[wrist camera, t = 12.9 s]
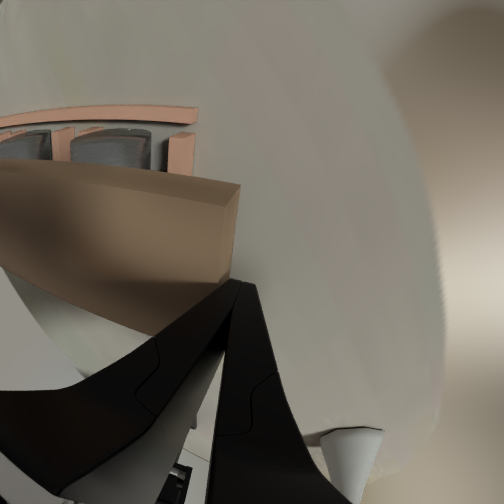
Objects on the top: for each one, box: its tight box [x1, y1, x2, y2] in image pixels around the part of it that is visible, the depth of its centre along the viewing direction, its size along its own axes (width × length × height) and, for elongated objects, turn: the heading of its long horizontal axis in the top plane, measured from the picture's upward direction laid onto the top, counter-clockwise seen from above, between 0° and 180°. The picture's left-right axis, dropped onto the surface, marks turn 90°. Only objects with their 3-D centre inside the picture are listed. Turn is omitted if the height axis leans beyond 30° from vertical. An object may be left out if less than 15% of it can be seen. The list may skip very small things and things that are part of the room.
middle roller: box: [0, 130, 52, 160], centre depth 12 cm, size 7×4×4 cm, turn 171°
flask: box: [320, 428, 385, 504], centre depth 19 cm, size 7×7×10 cm
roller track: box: [0, 105, 198, 176], centre depth 13 cm, size 9×20×1 cm, turn 81°
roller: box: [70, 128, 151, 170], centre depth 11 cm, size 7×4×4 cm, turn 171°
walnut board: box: [0, 158, 241, 337], centre depth 10 cm, size 6×17×2 cm, turn 82°
